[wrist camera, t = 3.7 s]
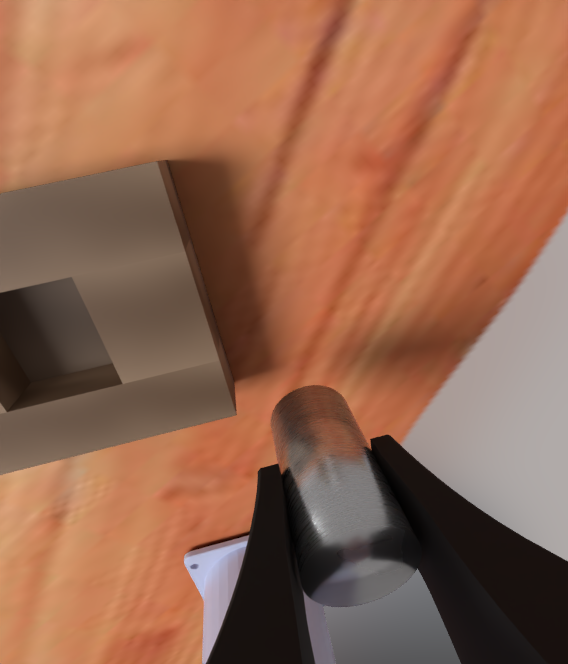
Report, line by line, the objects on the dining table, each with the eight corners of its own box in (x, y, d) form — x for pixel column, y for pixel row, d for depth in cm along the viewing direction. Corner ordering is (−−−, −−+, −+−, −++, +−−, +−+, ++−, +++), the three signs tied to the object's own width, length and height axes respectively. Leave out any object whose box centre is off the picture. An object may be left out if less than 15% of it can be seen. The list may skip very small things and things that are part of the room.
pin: (352, 438, 15) (422, 586, 10) (278, 457, 15) (311, 619, 10) (344, 376, 14) (421, 512, 9) (263, 397, 14) (291, 548, 8)
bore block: (234, 382, 18) (236, 415, 16) (-17, 444, 17) (-52, 488, 15) (166, 160, 13) (156, 161, 11) (-180, 231, 12) (-267, 248, 10)
